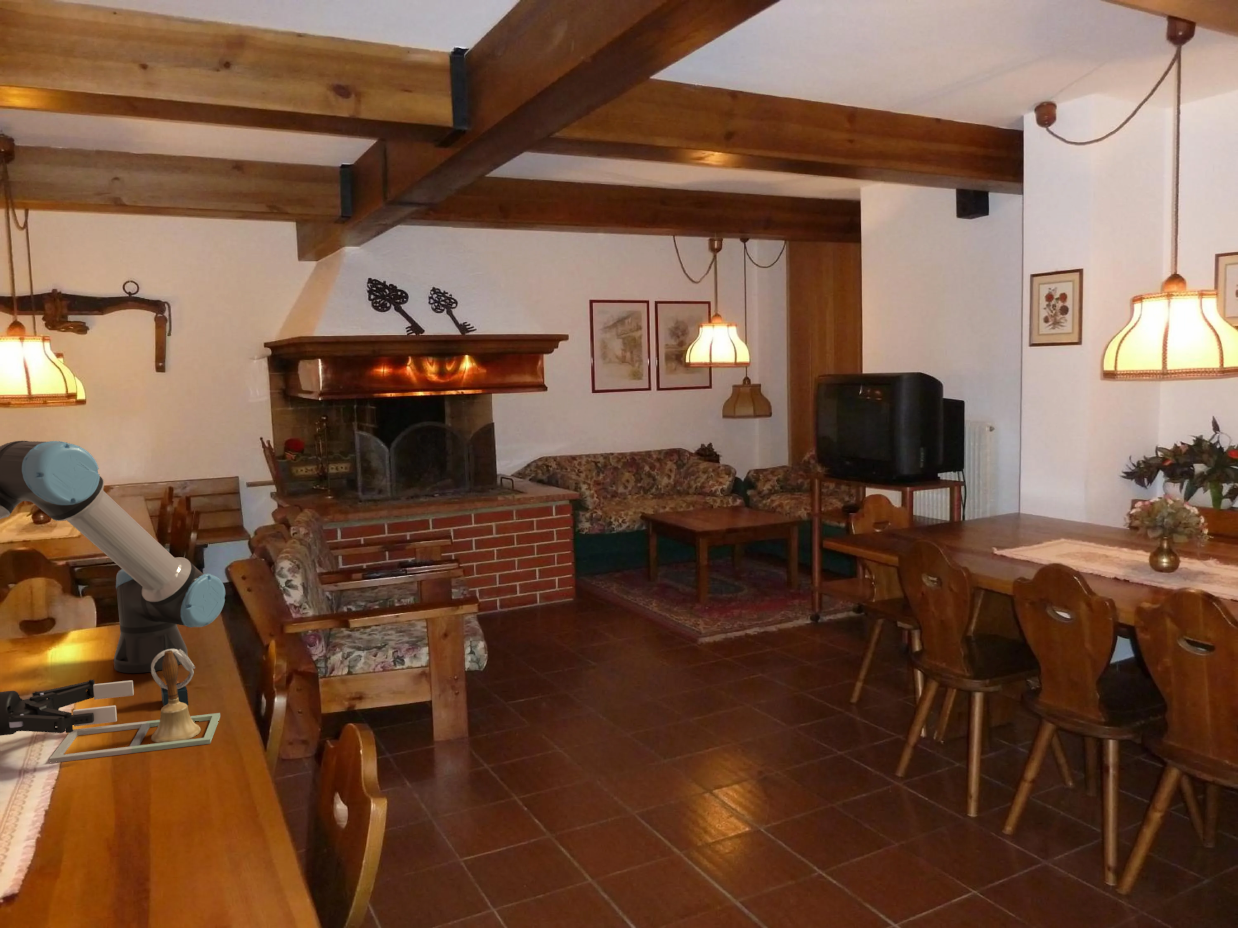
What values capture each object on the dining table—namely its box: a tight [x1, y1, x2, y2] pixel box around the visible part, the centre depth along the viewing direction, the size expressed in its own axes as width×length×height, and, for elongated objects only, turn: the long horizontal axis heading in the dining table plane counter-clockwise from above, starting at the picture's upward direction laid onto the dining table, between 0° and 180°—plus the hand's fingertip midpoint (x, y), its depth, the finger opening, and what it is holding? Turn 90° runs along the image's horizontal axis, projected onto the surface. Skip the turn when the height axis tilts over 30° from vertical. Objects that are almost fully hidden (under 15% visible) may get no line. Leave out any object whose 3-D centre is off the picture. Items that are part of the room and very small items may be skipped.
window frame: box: [49, 712, 221, 763], centre depth 170 cm, size 13×26×1 cm, turn 106°
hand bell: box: [150, 650, 202, 743], centre depth 171 cm, size 8×8×16 cm
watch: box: [150, 649, 196, 707], centre depth 188 cm, size 6×8×11 cm
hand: (125, 699), depth 169 cm, fingers open, 13 cm apart
